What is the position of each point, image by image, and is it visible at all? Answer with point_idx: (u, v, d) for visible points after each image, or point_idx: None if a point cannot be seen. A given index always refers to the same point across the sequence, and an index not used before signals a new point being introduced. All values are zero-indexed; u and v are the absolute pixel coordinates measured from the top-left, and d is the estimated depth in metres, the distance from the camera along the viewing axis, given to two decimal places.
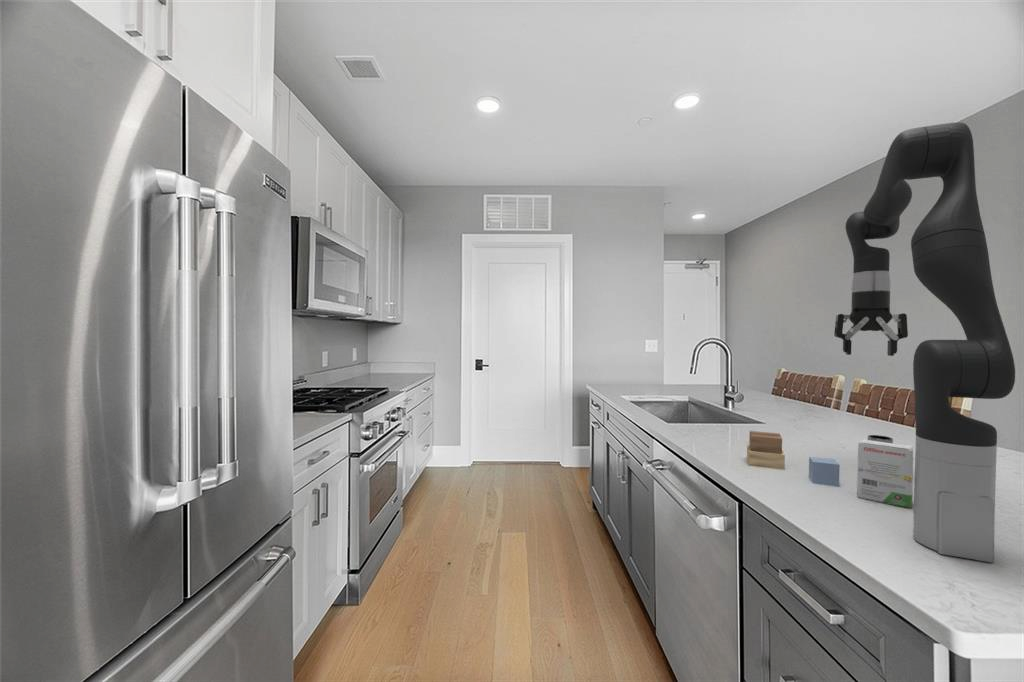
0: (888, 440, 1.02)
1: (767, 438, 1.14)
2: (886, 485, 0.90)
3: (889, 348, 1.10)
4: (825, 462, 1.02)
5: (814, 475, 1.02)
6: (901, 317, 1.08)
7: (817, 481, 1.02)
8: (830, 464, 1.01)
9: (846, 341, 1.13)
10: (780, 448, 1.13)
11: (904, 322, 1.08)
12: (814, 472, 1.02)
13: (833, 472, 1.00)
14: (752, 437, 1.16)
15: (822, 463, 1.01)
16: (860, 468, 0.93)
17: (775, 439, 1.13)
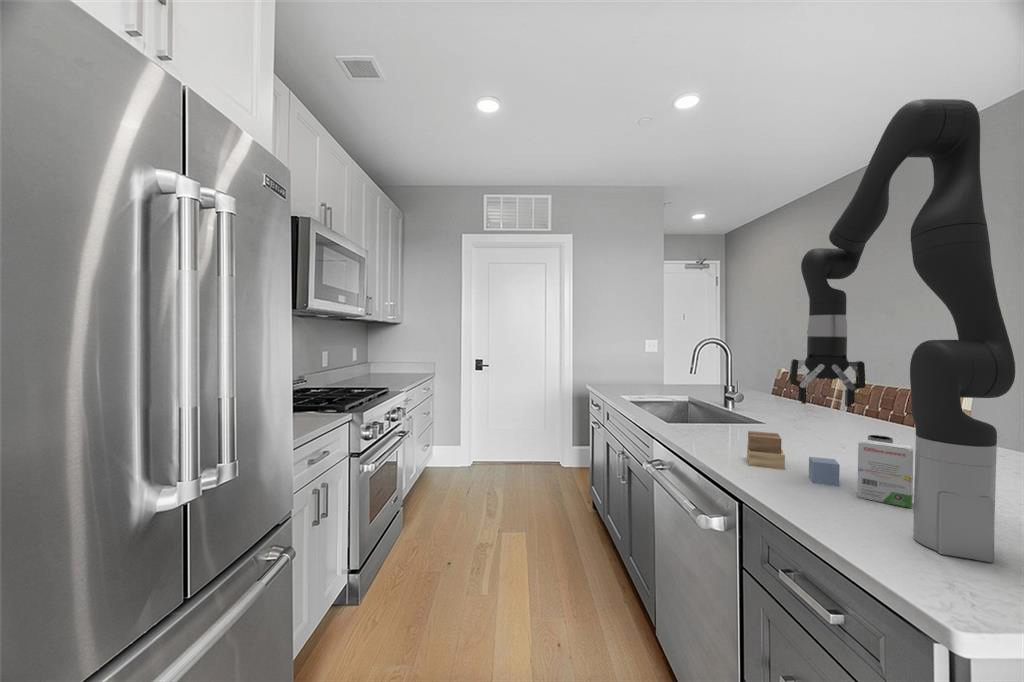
0: (888, 440, 1.02)
1: (766, 438, 1.14)
2: (886, 485, 0.90)
3: (846, 398, 1.01)
4: (825, 462, 1.02)
5: (814, 475, 1.02)
6: (858, 365, 0.99)
7: (817, 481, 1.02)
8: (830, 464, 1.01)
9: (801, 389, 1.04)
10: (779, 448, 1.13)
11: (862, 371, 0.99)
12: (814, 472, 1.02)
13: (833, 472, 1.00)
14: (751, 437, 1.15)
15: (822, 463, 1.01)
16: (860, 468, 0.93)
17: (774, 439, 1.13)
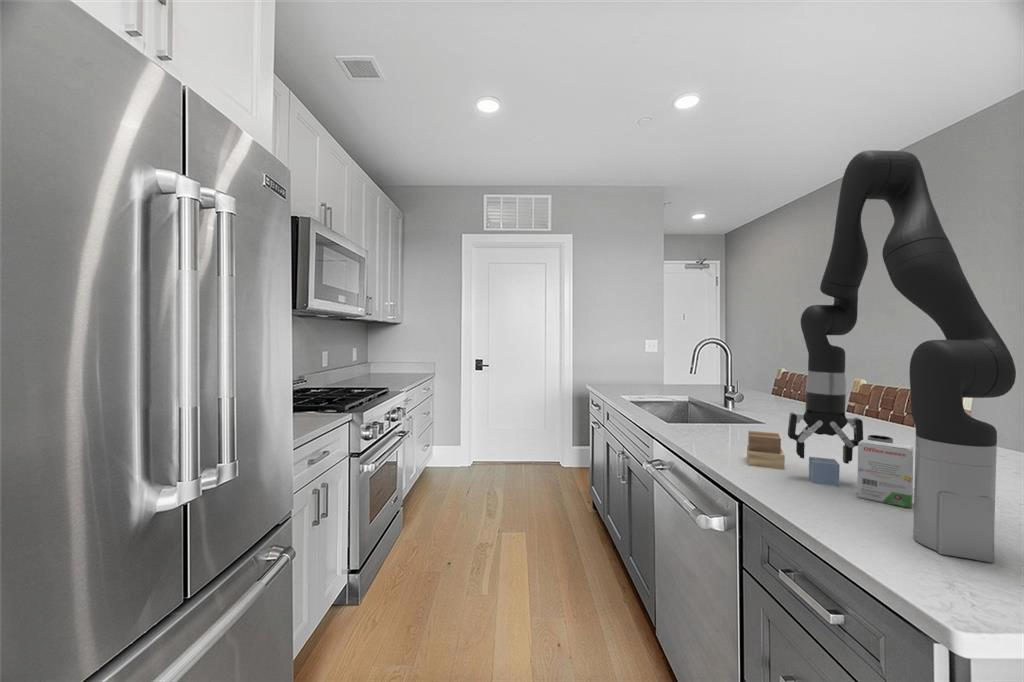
0: (888, 440, 1.02)
1: (766, 438, 1.14)
2: (886, 485, 0.90)
3: (844, 454, 1.02)
4: (825, 462, 1.02)
5: (814, 475, 1.02)
6: (857, 423, 1.00)
7: (817, 481, 1.02)
8: (830, 464, 1.01)
9: (799, 443, 1.05)
10: (779, 448, 1.13)
11: (860, 429, 1.00)
12: (814, 472, 1.02)
13: (833, 472, 1.00)
14: (751, 437, 1.16)
15: (822, 463, 1.01)
16: (860, 468, 0.93)
17: (774, 439, 1.13)
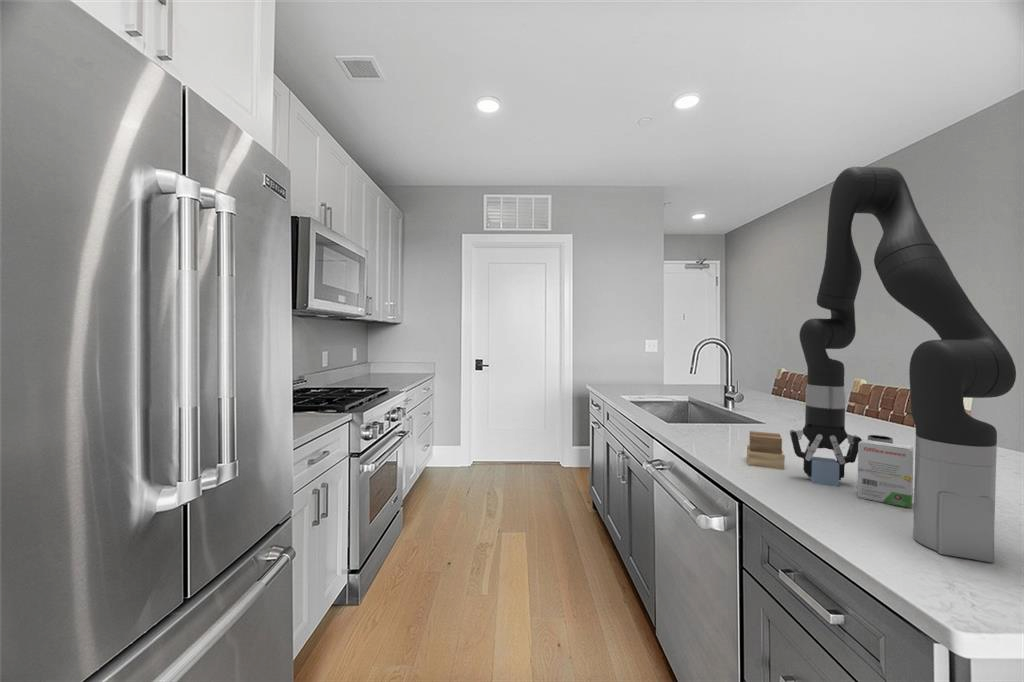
0: (888, 440, 1.02)
1: (767, 438, 1.14)
2: (886, 485, 0.90)
3: None
4: (825, 462, 1.02)
5: (814, 475, 1.02)
6: (855, 441, 1.00)
7: (817, 481, 1.02)
8: (830, 464, 1.01)
9: (806, 461, 1.04)
10: (780, 448, 1.13)
11: (856, 447, 1.00)
12: (814, 472, 1.02)
13: (833, 471, 1.00)
14: (752, 437, 1.15)
15: (822, 463, 1.01)
16: (860, 468, 0.93)
17: (775, 439, 1.13)
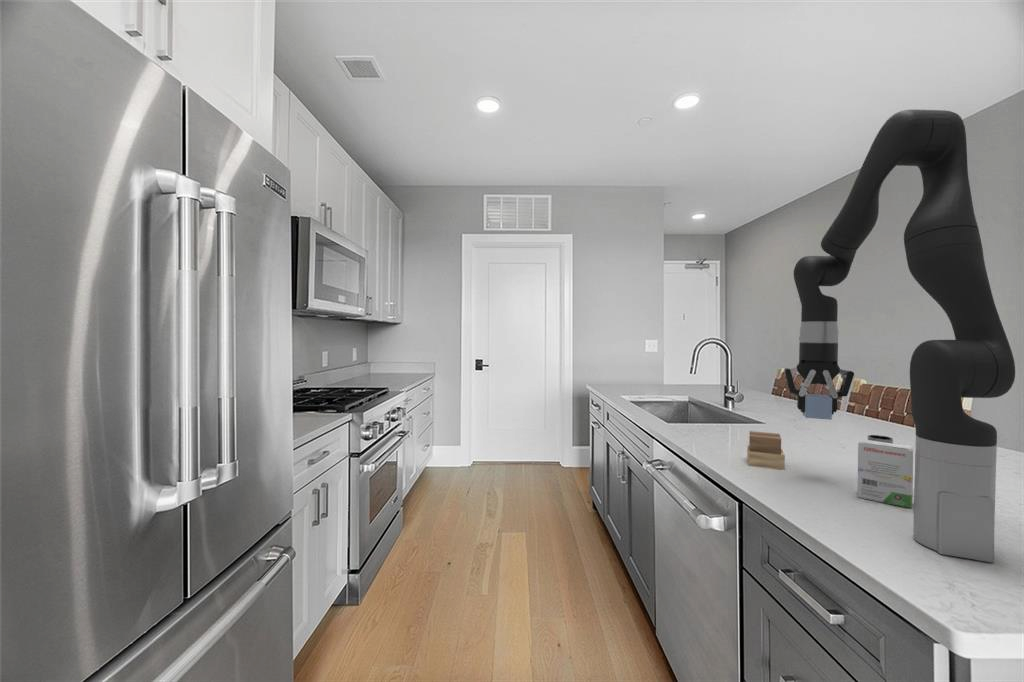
0: (888, 440, 1.02)
1: (766, 438, 1.14)
2: (886, 485, 0.90)
3: None
4: (818, 396, 1.03)
5: (807, 409, 1.04)
6: (848, 375, 1.01)
7: (810, 415, 1.04)
8: (823, 398, 1.02)
9: (800, 398, 1.06)
10: (779, 448, 1.13)
11: (849, 380, 1.01)
12: (807, 406, 1.04)
13: (826, 405, 1.02)
14: (751, 437, 1.15)
15: (815, 397, 1.03)
16: (860, 468, 0.93)
17: (774, 439, 1.13)
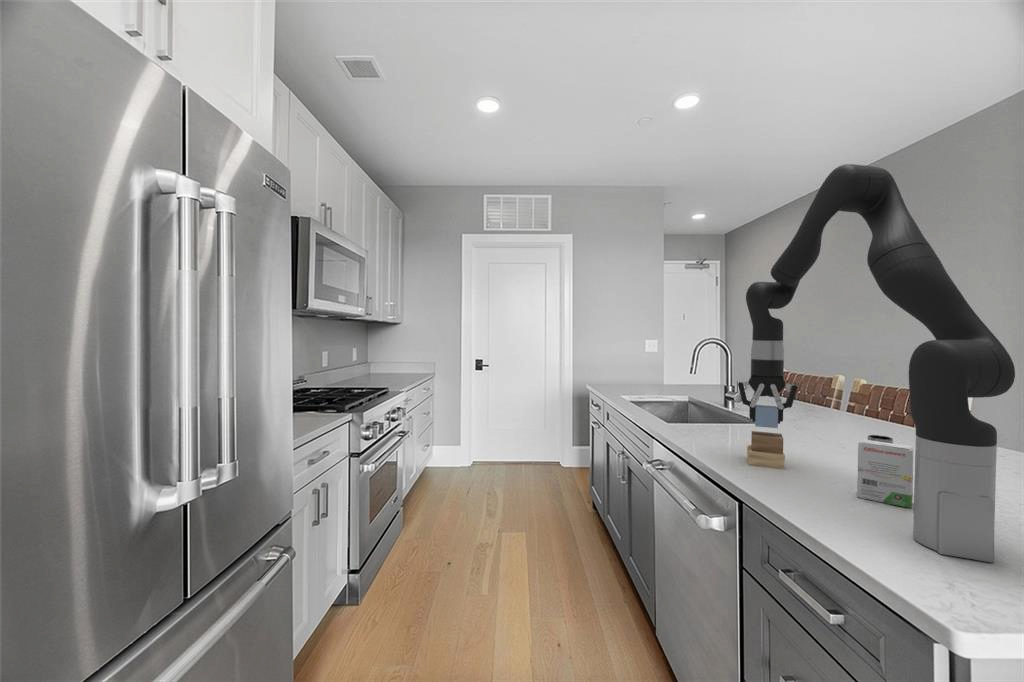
0: (888, 440, 1.02)
1: (768, 438, 1.14)
2: (886, 485, 0.90)
3: None
4: (766, 407, 1.16)
5: (757, 419, 1.16)
6: (792, 388, 1.14)
7: (759, 424, 1.16)
8: (770, 409, 1.15)
9: (751, 408, 1.18)
10: (781, 448, 1.13)
11: (793, 393, 1.14)
12: (757, 416, 1.16)
13: (773, 415, 1.14)
14: (753, 437, 1.16)
15: (763, 408, 1.15)
16: (860, 468, 0.93)
17: (776, 439, 1.13)
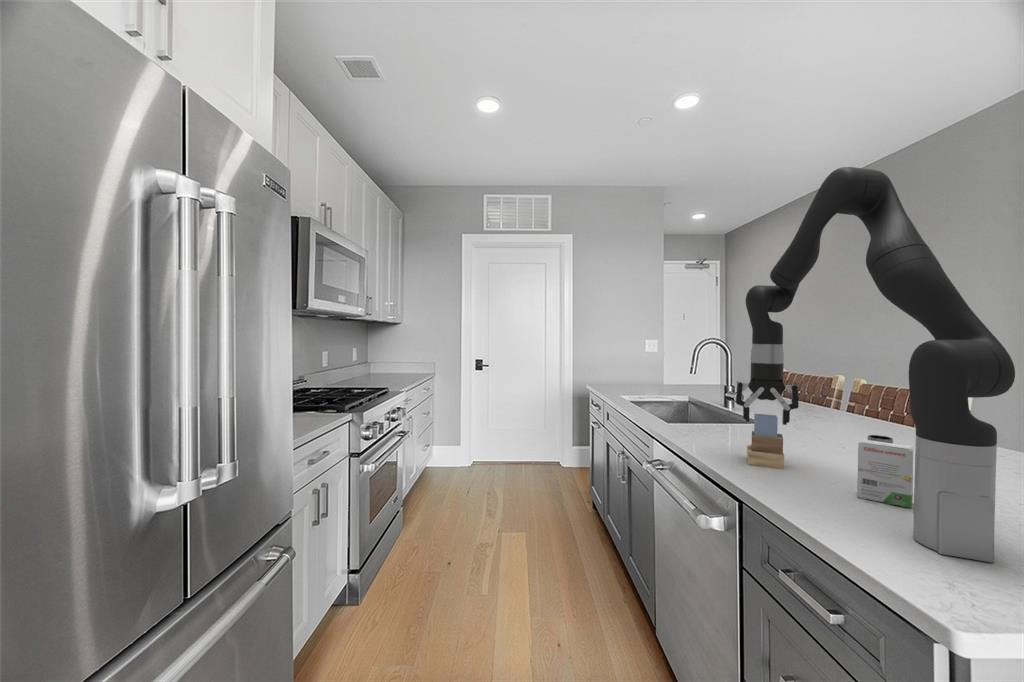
0: (888, 440, 1.02)
1: (768, 438, 1.14)
2: (886, 485, 0.90)
3: (783, 417, 1.15)
4: (766, 417, 1.16)
5: (756, 428, 1.16)
6: (793, 389, 1.14)
7: (759, 433, 1.16)
8: (770, 418, 1.15)
9: (745, 408, 1.19)
10: (781, 448, 1.13)
11: (795, 393, 1.13)
12: (756, 425, 1.16)
13: (772, 425, 1.14)
14: (753, 437, 1.16)
15: (763, 417, 1.15)
16: (860, 468, 0.93)
17: (776, 439, 1.13)
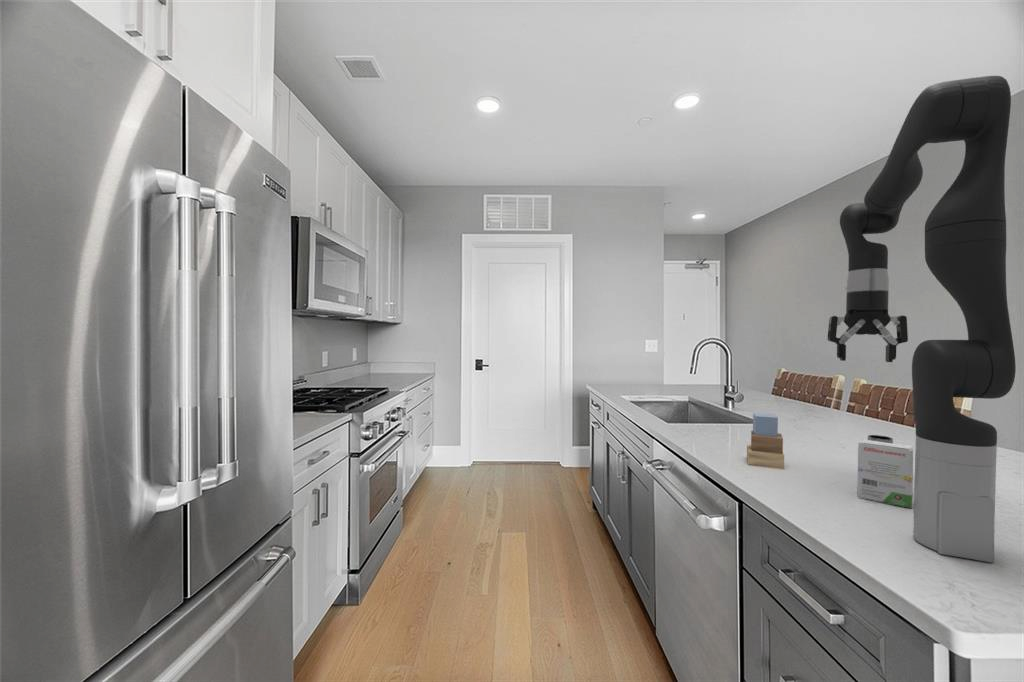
0: (888, 440, 1.02)
1: (768, 438, 1.14)
2: (886, 485, 0.90)
3: (887, 353, 1.00)
4: (766, 416, 1.16)
5: (757, 428, 1.16)
6: (900, 319, 0.98)
7: (759, 433, 1.16)
8: (770, 417, 1.15)
9: (840, 346, 1.03)
10: (781, 448, 1.13)
11: (904, 325, 0.98)
12: (757, 425, 1.16)
13: (773, 424, 1.15)
14: (753, 437, 1.16)
15: (763, 417, 1.16)
16: (860, 468, 0.93)
17: (776, 439, 1.13)
